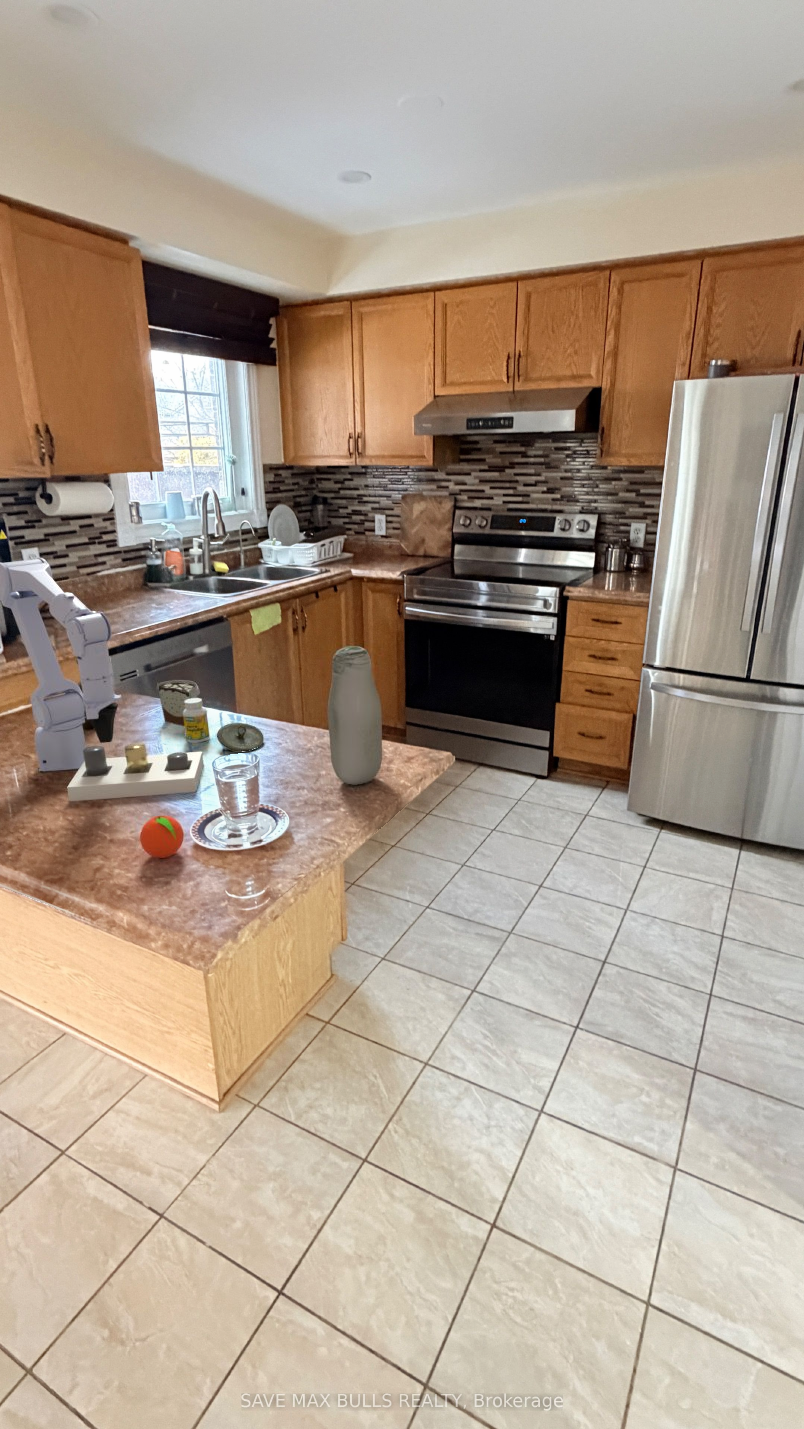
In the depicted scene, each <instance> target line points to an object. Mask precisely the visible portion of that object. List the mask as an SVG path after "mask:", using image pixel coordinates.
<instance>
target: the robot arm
mask: <svg viewBox="0 0 804 1429" xmlns="http://www.w3.org/2000/svg"><path fill="white" fill-rule="evenodd" d="M43 601H44V602H46V604H48V605H49V606H48V608H49V613H50V614H51V616H52V617H53V618H54V619H55V620H56V621H57V622H58V623H59V624H60V625H61V626H62V627H63V628H64V629H65V633H66V636H67V638H68V641H69V642H70V646H71V647H72V648H71V649H72V652H73V655H74V656H76V660H77V661H78V664H77V665H78V671H79V678H80V682H81V685H82V691H83V693H82V691H81V689H80V687H79V686H78V683H77V682H76V681H73V680H70V679H69V678H68V679H67V678H66V677H65V676H64V673H63V672H62V669H61V667H60V663H59V661H58V657H57V656H56V653H55V650H54V647H53V645H52V642H51V640H50V636H49V634H48V631H47V628H46V625H45V623H44V621H43V618H42V616H41V613H40V610H39V605H40V603H42V602H43ZM0 602H1V605H2V606H3V607H6V608H9V609H11V612H12V614H13V618H14V620H15V624H16V626H17V629H18V631H19V633H20V635H21V639H22V642H23V644H24V647H25V650H26V652H27V654H28V658H29V660H30V662H31V665H32V668H33V670H34V673H35V675H36V676H35V677H36V679H37V681H38V685H37V687H36V688H35V689H34V691H33V692H32V693H31V695H30V697H29V701H30V704H31V708H32V716H33V718H34V721H35V723H36V724H37V726H38V727H37V728H36V729H35V732H34V744H35V750H36V756H37V761H38V765H39V766H38V767H39V768H38V771H39V772H40V771H43V772H53V771H67V770H68V771H71V770H79V769H80V767H81V766H82V764H83V763H84V755H83V750H84V749H85V748H87V746H86V745H87V744H86V740H85V733H84V729H83V726H82V723H84V722H85V719H84V718H87V719H88V720H89V721H90V722H91V724H92V725H93V727H94V729H93V730H94V732H95V734H96V736H97V739H98V740H99V742H100V743H101V744H102V743H105V744H106V743H111V742H112V741H113V739H114V726H115V725H114V724H115V718H116V713H117V710H118V707H119V704H118V703H117V702H119V701H122V694H116V693H115V688H114V681H113V674H112V673H113V672H112V666H111V661H110V654H109V653H110V652H109V648H108V647H109V646H108V642H109V641H110V640H111V638H112V627H111V623H110V620H109V619H108V617H107V616H106V614H105V613H104V612H102V611H95V610H90V609H89V608H88V607H87V606H86V604H84V603H83V602H82V600H80V599H79V598H78V597H77V596H76V595H74V594H73V593H72V592H64V591H63V589H62V588H61V587H60V586H59V584H57V582H56V581H55V580H54V579H53V571H52V568H51V566H50V564H49V562H47V560H46V559H44V558H43V557H37V558H34V559H33V558H32V559H25V560H18V561H10V562H9V561H8V562H0ZM77 661H76V662H77Z"/></svg>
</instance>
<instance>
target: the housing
mask: <svg viewBox="0 0 804 1429" xmlns="http://www.w3.org/2000/svg"><path fill="white" fill-rule="evenodd" d="M185 753H186V754H187V756H188V764H189V770H176V771H169V768H168V761H167V756H168V755H170V754H171V753H164V754H163V753H162V754H148V755H147V761H148V770H147V771H145V772H142V773H129V772H128V768H127V762H126V756H122V757H120V756H119V757H106V762H107V768H108V772H107V773H106V774H103V775H100V776H88V775H87V772H86V767H85V761H84V763H83V764H82V766H81V767H80V769H77V771H76V773H75V775H74V776H73V778H72V779H71V781H70V782H69V783H68V786H67V787H66V790H67V794H68V801H69V802H80V801H93V800H94V801H95V800H107V799H108V800H109V799H118V798H131V797H144V796H145V797H146V796H158V795H160V796H161V795H171V794H172V795H173V794H186V793H196V792H197V790H198V786H199V783H200V779H201V775H202V772H203V768H204V766H205V764H204V758H203V757H204V756H203V751H193V752H192V751H191V752H185Z"/></svg>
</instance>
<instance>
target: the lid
mask: <svg viewBox="0 0 804 1429" xmlns="http://www.w3.org/2000/svg"><path fill="white" fill-rule="evenodd" d="M264 737H265V736H264V734H263V732H262V730H260V729H259V728H258V727H257V726H255V725H252V724H249V723H242V722H235V723H234V722H233V723H227V724H226V725H225V724H224V725H223V726H221V727H220V728H219V730H217V733H216V738H217V741H218V742H219V743H220V744H221V745H222V747H224V748H226V749H228V750H229V751H232V752H235V753H243V752H242V751H248V752H250V751H249V750H252V749H254V748H257V747H259V748H260V747H261V746H262V745H263V743H264V740H265V738H264ZM257 749H258V748H257ZM252 751H253V750H252Z"/></svg>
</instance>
